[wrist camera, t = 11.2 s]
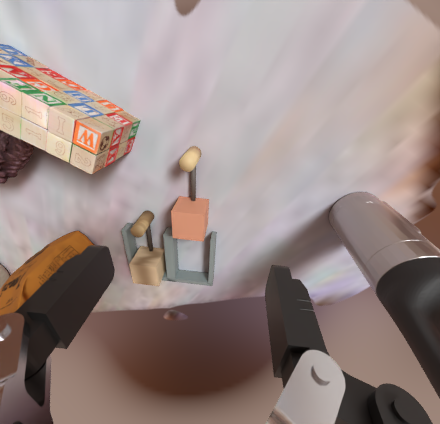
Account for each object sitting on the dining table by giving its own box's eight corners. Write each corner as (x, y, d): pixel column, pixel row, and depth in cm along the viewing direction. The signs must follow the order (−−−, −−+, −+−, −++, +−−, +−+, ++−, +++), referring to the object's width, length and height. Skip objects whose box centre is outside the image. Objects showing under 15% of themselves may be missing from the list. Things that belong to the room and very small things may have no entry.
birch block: (161, 212, 45) (151, 228, 40) (166, 266, 54) (158, 286, 48) (134, 209, 45) (120, 225, 40) (143, 264, 54) (133, 283, 49)
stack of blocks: (9, 86, 35) (-90, 86, 25) (9, 44, 32) (-104, 24, 22) (131, 151, 39) (91, 176, 29) (142, 119, 36) (101, 133, 25)
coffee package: (44, 238, 52) (-67, 324, 33) (81, 224, 49) (-19, 311, 30) (72, 266, 57) (-12, 356, 38) (108, 255, 53) (36, 347, 34)
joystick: (211, 147, 37) (206, 157, 32) (207, 223, 46) (203, 241, 41) (177, 144, 38) (167, 154, 32) (180, 220, 46) (172, 237, 41)
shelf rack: (216, 232, 47) (215, 240, 44) (213, 276, 54) (212, 285, 51) (127, 222, 47) (121, 230, 45) (136, 267, 55) (131, 276, 52)
